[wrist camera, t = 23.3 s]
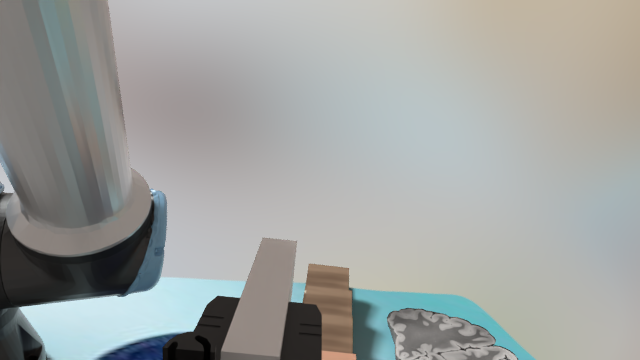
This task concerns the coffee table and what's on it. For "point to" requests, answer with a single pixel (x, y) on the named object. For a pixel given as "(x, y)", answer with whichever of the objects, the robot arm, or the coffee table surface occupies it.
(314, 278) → the domino
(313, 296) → the domino
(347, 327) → the domino
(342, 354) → the domino
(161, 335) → the coffee table surface
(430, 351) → the brain slice
